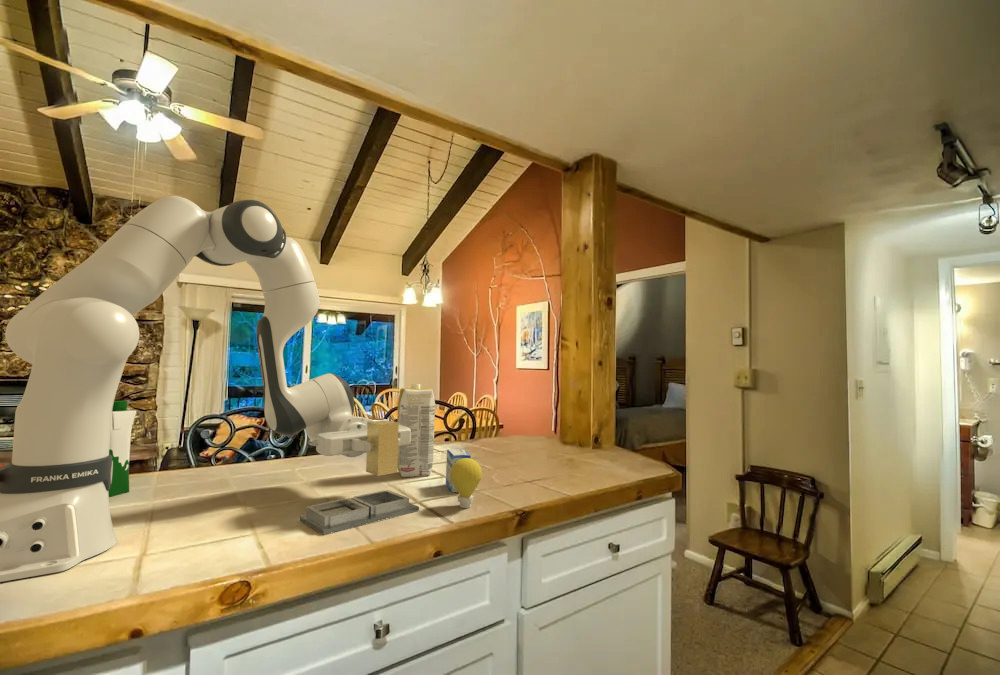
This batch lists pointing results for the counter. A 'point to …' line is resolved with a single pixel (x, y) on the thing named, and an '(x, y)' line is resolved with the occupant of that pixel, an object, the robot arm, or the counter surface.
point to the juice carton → (416, 430)
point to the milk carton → (120, 446)
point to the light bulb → (465, 479)
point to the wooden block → (382, 447)
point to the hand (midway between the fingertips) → (384, 445)
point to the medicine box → (453, 457)
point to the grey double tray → (356, 511)
